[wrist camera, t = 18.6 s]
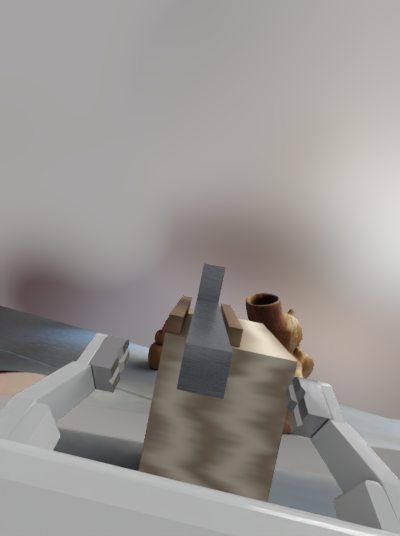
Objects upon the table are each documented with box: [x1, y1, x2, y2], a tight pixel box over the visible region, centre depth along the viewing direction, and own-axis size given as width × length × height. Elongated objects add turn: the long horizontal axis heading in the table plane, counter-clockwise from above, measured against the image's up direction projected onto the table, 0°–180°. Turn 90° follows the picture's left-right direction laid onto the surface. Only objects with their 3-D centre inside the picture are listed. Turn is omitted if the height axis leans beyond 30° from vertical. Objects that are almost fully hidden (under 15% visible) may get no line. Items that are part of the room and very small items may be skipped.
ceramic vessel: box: [246, 293, 314, 433], centre depth 52 cm, size 16×22×30 cm
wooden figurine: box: [148, 318, 169, 369], centre depth 66 cm, size 7×6×15 cm
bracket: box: [177, 264, 233, 399], centre depth 23 cm, size 3×20×8 cm, turn 178°
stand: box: [138, 296, 297, 502], centre depth 30 cm, size 14×14×28 cm
